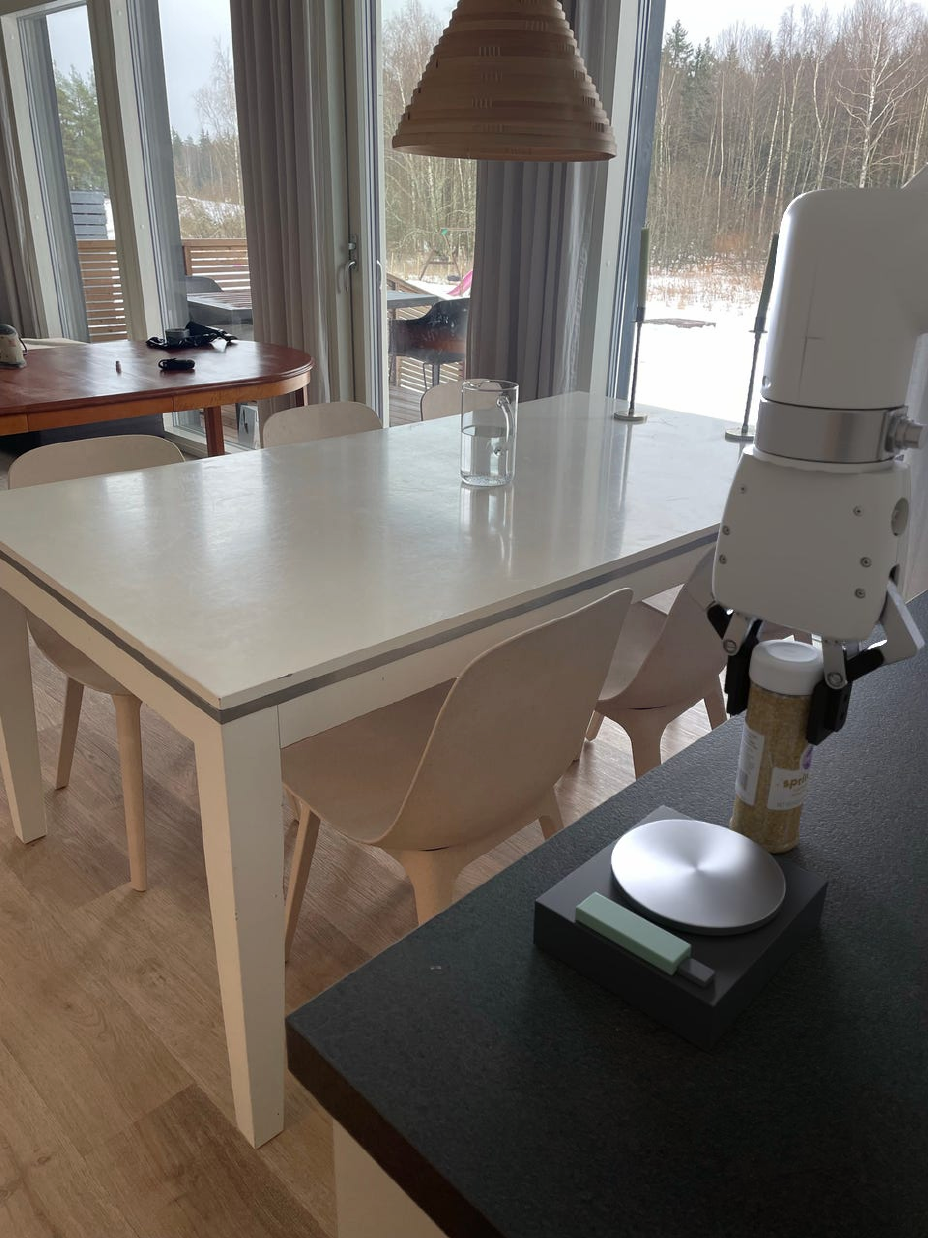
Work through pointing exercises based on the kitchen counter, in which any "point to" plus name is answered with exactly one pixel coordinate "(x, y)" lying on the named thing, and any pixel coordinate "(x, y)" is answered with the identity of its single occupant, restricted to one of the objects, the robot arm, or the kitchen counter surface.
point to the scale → (671, 946)
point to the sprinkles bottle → (776, 743)
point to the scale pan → (698, 877)
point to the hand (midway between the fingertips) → (780, 719)
